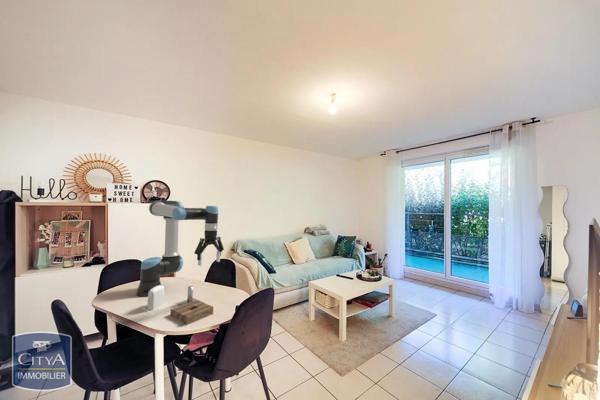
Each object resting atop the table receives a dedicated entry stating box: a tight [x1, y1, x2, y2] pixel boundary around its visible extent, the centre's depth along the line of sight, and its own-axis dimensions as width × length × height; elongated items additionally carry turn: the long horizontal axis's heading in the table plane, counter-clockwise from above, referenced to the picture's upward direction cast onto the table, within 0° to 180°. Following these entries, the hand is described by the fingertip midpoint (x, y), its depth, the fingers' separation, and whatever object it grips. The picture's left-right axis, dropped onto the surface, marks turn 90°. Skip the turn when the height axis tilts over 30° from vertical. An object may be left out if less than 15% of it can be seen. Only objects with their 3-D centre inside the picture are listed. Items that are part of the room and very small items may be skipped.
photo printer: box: [146, 284, 165, 311], centre depth 142 cm, size 10×4×12 cm, turn 172°
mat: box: [175, 297, 205, 306], centre depth 148 cm, size 12×12×1 cm
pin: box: [186, 285, 194, 303], centre depth 148 cm, size 3×3×10 cm
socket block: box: [169, 299, 214, 325], centre depth 133 cm, size 16×16×4 cm
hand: (209, 263), depth 149 cm, fingers open, 13 cm apart
